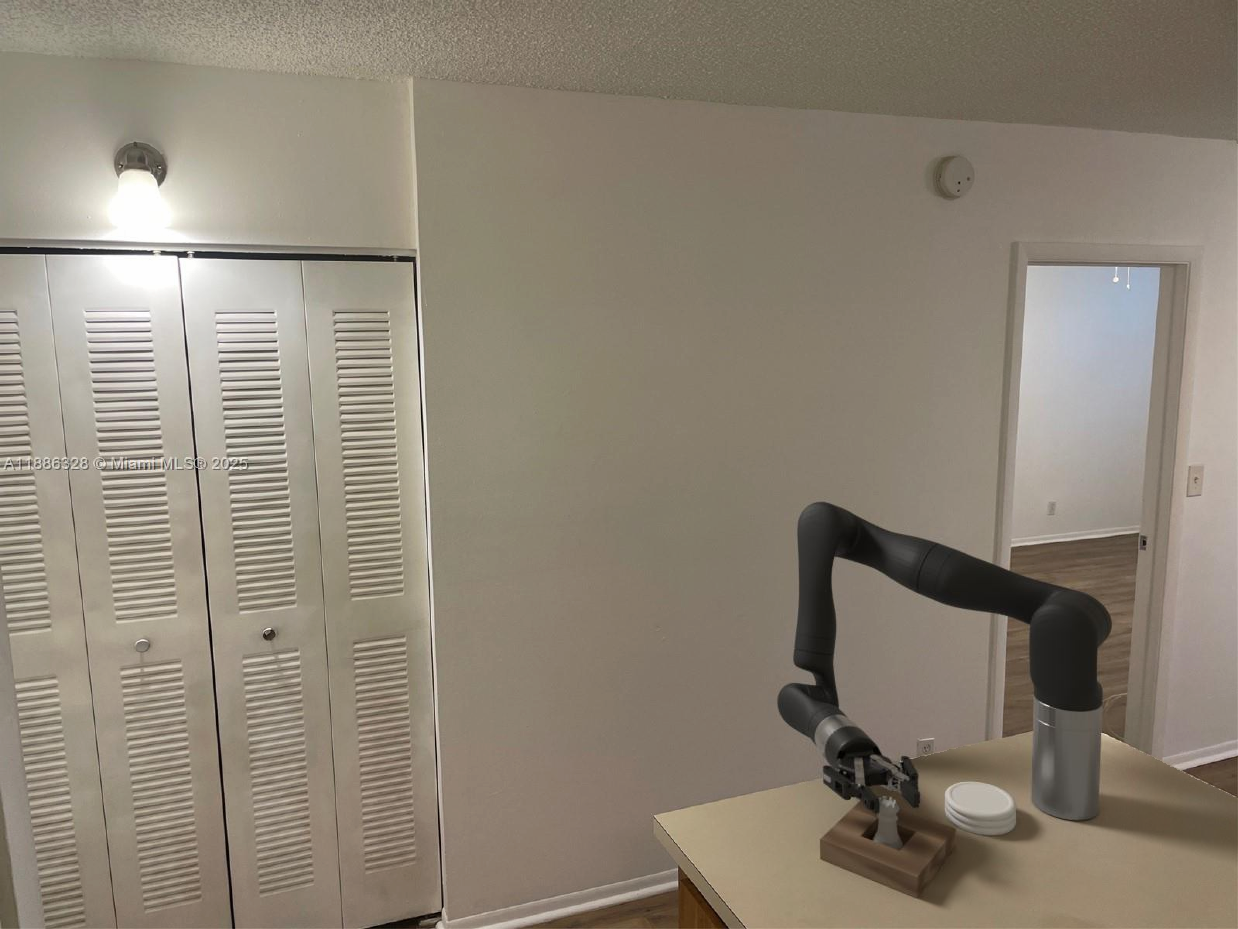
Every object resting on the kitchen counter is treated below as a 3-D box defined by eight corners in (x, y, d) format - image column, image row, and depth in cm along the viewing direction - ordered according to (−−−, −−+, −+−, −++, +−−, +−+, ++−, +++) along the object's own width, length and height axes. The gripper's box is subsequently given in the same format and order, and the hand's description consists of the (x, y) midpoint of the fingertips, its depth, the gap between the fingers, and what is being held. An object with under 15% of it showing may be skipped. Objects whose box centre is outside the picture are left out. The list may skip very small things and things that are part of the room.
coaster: (1009, 804, 131) (1009, 783, 131) (1022, 841, 122) (1022, 818, 121) (941, 798, 134) (941, 777, 133) (948, 833, 124) (948, 811, 124)
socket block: (864, 815, 129) (863, 797, 129) (955, 847, 120) (956, 828, 120) (820, 858, 119) (819, 839, 119) (917, 898, 110) (917, 877, 109)
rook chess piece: (905, 863, 117) (906, 810, 116) (872, 861, 118) (872, 808, 117) (901, 845, 121) (901, 793, 120) (869, 842, 122) (869, 791, 121)
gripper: (802, 730, 131) (847, 785, 114) (889, 720, 133) (945, 773, 116) (803, 775, 132) (848, 836, 115) (889, 764, 134) (945, 823, 117)
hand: (896, 804), depth 116 cm, fingers open, 5 cm apart
